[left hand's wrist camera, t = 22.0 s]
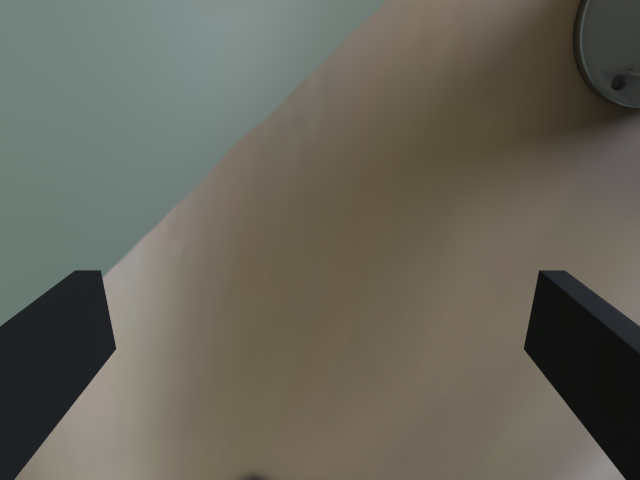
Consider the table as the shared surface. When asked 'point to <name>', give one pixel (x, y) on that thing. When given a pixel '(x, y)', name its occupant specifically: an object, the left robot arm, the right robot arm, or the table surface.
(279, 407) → the table surface
